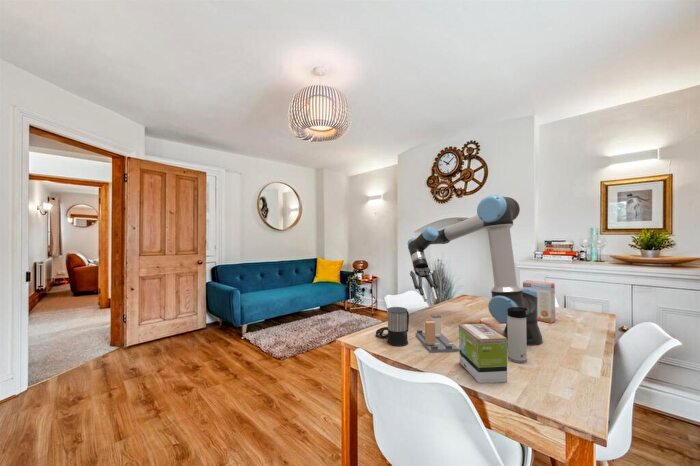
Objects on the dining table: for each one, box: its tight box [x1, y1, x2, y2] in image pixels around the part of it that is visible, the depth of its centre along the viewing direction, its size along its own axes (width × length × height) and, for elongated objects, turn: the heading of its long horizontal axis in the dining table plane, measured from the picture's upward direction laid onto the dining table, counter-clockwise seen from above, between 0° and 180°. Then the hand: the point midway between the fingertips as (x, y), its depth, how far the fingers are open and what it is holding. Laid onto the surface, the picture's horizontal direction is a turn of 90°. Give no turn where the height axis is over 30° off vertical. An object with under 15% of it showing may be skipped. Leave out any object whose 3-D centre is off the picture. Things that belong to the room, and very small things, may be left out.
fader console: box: [415, 320, 459, 354], centre depth 128 cm, size 20×12×11 cm, turn 4°
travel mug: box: [507, 307, 528, 364], centre depth 111 cm, size 6×7×20 cm
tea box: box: [458, 323, 508, 384], centre depth 101 cm, size 15×10×15 cm
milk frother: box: [375, 306, 410, 347], centre depth 133 cm, size 14×16×15 cm
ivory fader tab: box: [430, 314, 442, 337], centre depth 133 cm, size 3×4×9 cm
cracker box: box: [522, 280, 556, 324], centre depth 161 cm, size 14×6×21 cm, turn 35°
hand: (430, 300), depth 140 cm, fingers open, 4 cm apart
